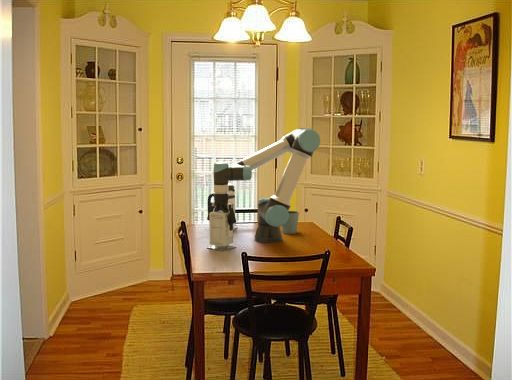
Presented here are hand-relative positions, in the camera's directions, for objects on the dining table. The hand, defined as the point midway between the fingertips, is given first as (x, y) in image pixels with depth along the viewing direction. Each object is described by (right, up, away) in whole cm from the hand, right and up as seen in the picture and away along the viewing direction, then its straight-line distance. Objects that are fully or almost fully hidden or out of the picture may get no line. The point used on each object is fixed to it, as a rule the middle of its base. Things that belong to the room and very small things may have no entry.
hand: (221, 235), depth 305 cm
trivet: (0, -7, +1) cm, 7 cm away
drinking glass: (+38, -1, +40) cm, 55 cm away
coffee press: (-2, 0, +50) cm, 50 cm away
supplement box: (0, -5, +1) cm, 5 cm away
